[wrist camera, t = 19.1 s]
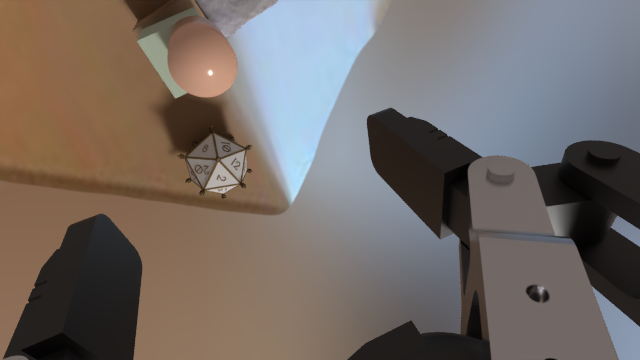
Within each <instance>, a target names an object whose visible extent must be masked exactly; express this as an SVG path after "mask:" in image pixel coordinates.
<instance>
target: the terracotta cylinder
mask: <svg viewBox="0 0 640 360" xmlns="http://www.w3.org/2000/svg"><path fill="white" fill-rule="evenodd" d="M167 63H168V68H169V72H170V74H171V76H172V78H173V79H174V81H175V82H176V83H177V85H178V86H179V87H181V88H182V89H183V90H184V91H186V92H188V93H190V94H192V95H195V96H199V97H214V96H217V95H220V94H222V93H223V92H225V91H226V90H227V89H228V88H229V87H230V86H231V85H232V84H233V82H234V80H235V78H236V75H237V68H238V67H237V59H236V55H235V53H234V51H233V49H232V47H231V46H230V44H229V43H228V41H227V39H226V38H225V36H224V35H223V33H222V32H221V30H220V29H219V28H218V27H217V26H216V25H215V24H214V23H213V22H212V21H210V20H208V19H206V18H204V17H200V16H188V17H184V18H182V19H180V20H179V21H177V22H176V23H175V24H174V26H173V27H172V29H171V31H170V34H169V40H168V56H167Z"/></svg>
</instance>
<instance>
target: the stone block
mask: <svg viewBox="0 0 640 360" xmlns="http://www.w3.org/2000/svg"><path fill="white" fill-rule="evenodd" d="M195 1H196V2H197V4H198V5H199V7H200V8H201V10H202V11H203V13H204V14H205V16H206V18H207V19H208V20H210V21H212V22H213V23H214V24H215V25H216V26H217V27H218V28H219V29H220V30H221V32H222V33H223V35H224V36H225V38H227V37H229V36H231V35H232V34H234V33H235V31H236V30H237V29H239V28H241V26H242V25H244V24H245V23H246V22H248V21H249V20H251V19H252V18H254V17H255V16H257V15H258V14H260V13H262V12H263V11H265V10H266V9H267V8H269V7H271V6H273V5H274V4H275V3H276V2H277V1H278V0H195Z"/></svg>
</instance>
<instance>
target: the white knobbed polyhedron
mask: <svg viewBox="0 0 640 360" xmlns="http://www.w3.org/2000/svg"><path fill="white" fill-rule="evenodd" d="M214 130H215V129H214V127H213V126H212V125H211V127H210V131H211V133H210V134H209V135H208V136H206V137H205V138H204V139H203V140H202V141H201V142H199V143H198V144H197V143H196V142H192V145H193V146H195V147H194V148H193V149H192V150H191V151H190V152H189V153H188V154H187V155H186V156H184V155H182V154H180V155H177V156H178V157H179V158H180V159H185V160H186V164H187V168H188V171H189V175H190V178H188V179H186V182H187V183H189V182H191V180H192V181H193V182H194V183H195V184H197V185H198V186H199V187H200V188H201V189H202V190H201V191H200V192H199V193H200V196H202V195H204V193H205V191H209V192H214V193H219V194H222V198H223V199H225V198H226V195H225V193H226V192H228V191H230V190H232V189H233V188H235V187H237V186H239V185H241V187H242V188H246V185H245V184H244V183H242V181H243V179H244V177H245V174H246V172H248V173H251V172H253V171H252V170H251V169H247V150H249V149H251V147H252V145H248V146H246V148H245V147H243V146H241V145H239V144H237V143H235V142H233V141H234V140H235V139H234V137H231V139H230V140H229V139H227V138H225V137H223V136H221V135H219V134H217V133H215V132H214Z"/></svg>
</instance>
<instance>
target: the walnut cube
mask: <svg viewBox="0 0 640 360" xmlns="http://www.w3.org/2000/svg"><path fill="white" fill-rule="evenodd" d="M192 7H195V9H196V11H197V13H198V15H199V16H200V17H204V18H206V16H205V14H204V13H203V11H202V10H201V8H200V7H199V5H198V4H197V2H196V1H195V0H170V1H168V2H167V3H165V4H164V5H162V6H160V7H159V8H157V9H156V10H154V11H153V12H151V13H149V14H148V15H146V16H145V17H143V18H141V19H140V20H138V22H137V24H136V25H135V27H134V29H133V32H134V34H135V35H136V36H137V37H139V35H140V33H141V30H142V29H144V28H147V27H149V26H151V25H153V24H156V23H158V22H160V21H162V20H165V19H167V18H169V17H171V16H174V15H176V14H178V13H181V12H183V11H185V10H187V9H190V8H192ZM206 19H207V18H206Z"/></svg>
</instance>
